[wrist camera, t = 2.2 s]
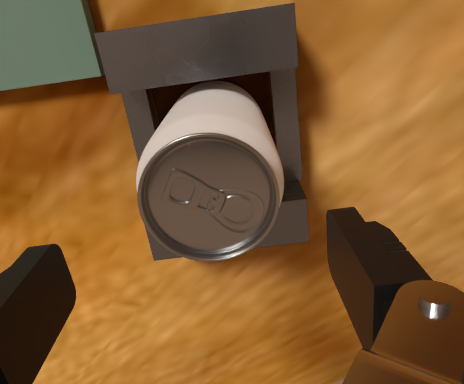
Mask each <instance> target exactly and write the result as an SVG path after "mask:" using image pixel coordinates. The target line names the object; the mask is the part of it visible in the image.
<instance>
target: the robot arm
mask: <svg viewBox="0 0 464 384" xmlns="http://www.w3.org/2000/svg"><path fill="white" fill-rule="evenodd" d="M326 221H327V251H328V263H329V268H330V272H331V276H332V278H333V280H334V283H335V285H336V287H337V290H338V292H339V294H340V296H341V299H342V301H343V303H344V306H345V308H346V310H347V312H348V315H349V317H350V319H351V322H352V324H353V326H354V328H355V331H356V333H357V335H358V338H359V340H360V342H361V344H362V347H363V348H362V349H361V350H360V351H359V352H358V354H357V355H356V357H355V359H354V361H353V363H352V365H351V367H350V369H349V371H348V373H347V375H346V377H345V379H344V382H343V384H464V293H463V292H462V291H460V290H459V289H457V288H455V287H453V286H451V285H448V284H445V283H442V282H438V281H433V280H432V279H431V278H430V276H429V275H428V274H427V273H426V272H425V270H424V269H423V268H422V267H421V266H420V264H419V263H418V262H417V261H416V260H415V258H414V257H413V256H412V255H411V254H410V252H409V251H407V250H406V248H405V246H404V245H403V244H402V243H401V242H399V239H398V238H397V237H396V236H395V234H394V233H393V232H392V231H391V230H390V229H389V228H387V227H385V226H383V225H381V224H380V223H378V222H376V221H372V222H365V221H364V219H363V218H362V217H361V215H360V214H359V213H358V211H357V210H356V209H355V207H348V208H340V209H332V210H328V211H327V216H326ZM75 301H76V289H75V285H74V283H73V280H72V277H71V274H70V272H69V269H68V266H67V264H66V261H65V258H64V255H63V253H62V250H61V248H60V247H59V246H58V245H56V244H49V245H42V246H34V247H29V248H27V249H26V250H25V251H24V252H23V253H22V254H21V256H20V257H19V258H18V259H17V260H16V261H15V262H14V263H13V264H12V266H11V267H9V268H8V269H6V270H5V271H3V272H2V273H1V274H0V384H32V383H33V382H34V380H35V378H36V376H37V374H38V372H39V371H40V369H41V367H42V365H43V363H44V361H45V359H46V358H47V356H48V354H49V352H50V350H51V348H52V346H53V345H54V343H55V341H56V339H57V337H58V335H59V333H60V332H61V330H62V328H63V326H64V324H65V322H66V321H67V319H68V317H69V315H70V313H71V311H72V309H73V307H74V305H75Z"/></svg>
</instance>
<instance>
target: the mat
mask: <svg viewBox="0 0 464 384" xmlns="http://www.w3.org/2000/svg"><path fill="white" fill-rule="evenodd" d="M94 33H96V30H95V26H94V22H93V18H92V15H91V11H90V7H89V3H88V0H0V91H3V90H10V89H17V88H24V87H31V86H38V85H44V84H51V83H58V82H65V81H72V80H79V79H85V78H92V77H99V76H103V75H105V73H104V69H103V65H102V61H101V57H100V54H99V50H98V46H97V42H96V38H95V35H94Z"/></svg>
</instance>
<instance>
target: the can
mask: <svg viewBox="0 0 464 384" xmlns="http://www.w3.org/2000/svg"><path fill="white" fill-rule="evenodd" d="M136 185H137V193H138V195H137V196H138V207H139V211H140V215H141V217H142V220H143V222H144V224H145V226H146V228H147V229H148V231H149V232H150V233H151V235H152V236H153V237H154V238H155V239H156V240H157V241H158V242H159V243H160V244H161V245H162V246H164V247H165V248H166V249H168V250H170V251H171V252H173V253H175V254H177V255H179V256H182V257H184V258H187V259H191V260H196V261H203V262H217V261H224V260H229V259H232V258H235V257H238V256H241V255H243V254H245V253H247V252H248V251H250V250H251V249H253V248H254V247H256V246H257V245H258V244H259V243H260V242H261V241H262V240H263V239H264V238H265V237H266V236H267V234H268V233H269V232H270V230H271V228H272V227H273V225H274V222H275V220H276V217H277V214H278V210H279V207H280V204H281V201H282V197H283V191H284V175H283V168H282V164H281V161H280V157H279V155H278V152H277V149H276V146H275V144H274V141H273V139H272V136H271V134H270V131H269V129H268V126H267V124H266V121H265V119H264V117H263V114H262V112H261V110H260V108H259V106H258V104H257V103H256V101H255V100H254V99H253V97H252V96H251V95H250V94H249V93H248V92H246V91H245V90H244V89H242V88H241V87H239V86H237V85H235V84H232V83H229V82H225V81H207V82H203V83H200V84H197V85H195V86H193V87H191V88H190V89H188V90H187V91H186V92H185V93H183V94H182V95H181V97H180V98H179V99H178V100H177V101H176V103H175V104H174V105H173V107H172V108H171V110H170V111H169V112H168V114H167V115H166V117H165V118H164V119H163V121H162V122H161V124H160V125H159V127H158V128H157V130H156V131H155V133H154V134H153V136H152V137H151V139H150V140H149V142H148V143H147V145H146V147H145V149H144V151H143V153H142V155H141V158H140V161H139V164H138V169H137V176H136Z"/></svg>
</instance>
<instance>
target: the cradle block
mask: <svg viewBox="0 0 464 384" xmlns="http://www.w3.org/2000/svg"><path fill="white" fill-rule="evenodd" d="M94 35H95V38H96V42H97V46H98V50H99V54H100V57H101V61H102V65H103V69H104V73H105V76H106V80H107V84H108V88H109V92H110V94H115V93H121V94H122V98H123V102H124V106H125V110H126V114H127V118H128V122H129V126H130V130H131V134H132V138H133V142H134V146H135V150H136V153H137V157H138V161H140V158H141V155H142V153H143V151H144V149H145V147H146V145H147V143H148V142H149V140H150V139H151V137H152V136H153V134H154V133H155V131H156V130H157V128H158V127H159V125H160V121H159V117H158V112H157V107H156V103H155V98H154V94H153V89H152V88H157V87H164V86H171V85H178V84H185V83H192V82H199V81H206V80H213V79H220V78H226V77H233V76H240V75H247V74H254V73H261V72H267V74H268V84H269V95H270V106H271V116H272V127H273V137H274V144H275V146H276V149H277V152H278V155H279V157H280V161H281V164H282V168H283V175H284V191H283V197H282V201H281V204H280V207H279V210H278V214H277V217H276V220H275V222H274V225H273V227H272V228H271V230H270V232H269V233H268V234H267V236H266V237H265V238H264V239H263V240H262V241H261V242H260V243H259V244H258V245H257V246H256V247H254V248H261V247H270V246H278V245H286V244H294V243H302V242H309V228H308V211H307V198H306V196H305V194H304V192H303V190H302V188H301V185H300V183H299V181H298V180H303V179H302V163H301V148H300V133H299V118H298V102H297V87H296V72H295V68H296V67H298V51H297V34H296V18H295V3H291V4H284V5H277V6H271V7H264V8H258V9H251V10H245V11H238V12H231V13H225V14H218V15H212V16H205V17H198V18H192V19H185V20H179V21H172V22H166V23H159V24H152V25H146V26H139V27H133V28H126V29H120V30H113V31H106V32H100V33H94ZM145 228H146V226H145ZM146 232H147V236H148V239H149V243H150V247H151V251H152V255H153V258H154V261H155V260H163V259H171V258H180V257H182V256H179V255H177V254H175V253H173V252H171V251H170V250H168V249H166V248H165V247H164V246H162V245H161V244H160V243H159V242H158V241H157V240H156V239H155V238H154V237H153V236H152V235H151V233H150V232H149V231H148V229H147V228H146Z"/></svg>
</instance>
